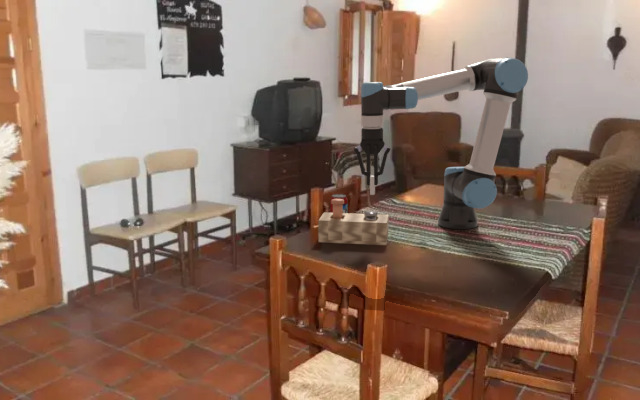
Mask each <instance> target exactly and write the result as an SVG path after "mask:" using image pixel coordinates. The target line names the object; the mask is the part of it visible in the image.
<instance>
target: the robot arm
mask: <svg viewBox="0 0 640 400" xmlns="http://www.w3.org/2000/svg"><path fill="white" fill-rule="evenodd" d="M528 79H529V72H528V69H527V66H526V65H525V63H524V62H522V61H521V60H520V59H518V58H513V57H507V56H506V57H502V58H501V57H495V58H494V57H493V58H489V59H485V60H483V61H479V62H476V63H472V64H469V65H466V66H464V68H463V69H459V70H454V71H450V72H446V73H441V74H436V75H431V76H427V77H423V78H419V79H414V80H409V81H405V82H400V83H396V84H391V85H389V84H387V85H384V83H383V82H381V81H372V82H371V81H368V82H367V81H366V82H363V83H362V84H361V88H360V89H361V90H360V91H361V92H360V105H361V112H360V113H361V116H360V120H361V122H360V124H361V127H362V128H361V136H360V137H361V138H360V139H361V141H360V143H359V145H358V146H355V147H354V149H353V151H354V152H355V154H356V156H357V160H358V164H359V168H360V172H361V174H362V175H364V176H366V185H367V186H369V195H370V196H375V194H376V186H378V184H379V176H382V175H383V174H384V170H385V166H386V162H387V158H388V154H389V152H390V151H391V146H387V145H386V144H385V141H384V128H383V127H384V110H386V111H387V110H411V109H412V110H413V109H415V108H416V107H417V105H418V103H419V102H418V101H420V100H422V101H423V100H426V99H431V98H435V97H440V96H444V95H448V94H453V93H457V92H461V91H466V90H467V91H469V92H474V91H483V95H484V97H485V103H484V107H483V109H482V110H483V111H482V115H481V118H480V122H479V126H478V128H477V132H476V138H475V142H474V145H473V149H472V152H471V157H470V160H469V163H468V164H467V165H465V166H449V167H446V168H445V170H444V175H443V177H444V179H443V181H444V182H443V203H442V206H441V209H440V213H439V215H438V220H437V224H438V225H439V226H441V227H442V228H446V229H451V230H452V229H454V230H471V229H475V228H477V227H478V224H479V223H478V221H479V220H478V218H477V213H476V209H477V210H478V209H479V210H480V209H485V208H487V207H488V206H491V204H492V203H494V201H495V199H496V197H497V194H498V189H497V185H496V184H495V180H496V177H497V174H496V172H495V170H494V167H495V164H496V160H497V155H498V152H499V148H500V144H501V141H502V137H503V134H504V129H505V126H506V121H507V119H508V114H509V111H510V109H511V108H510V107H511V104H512V103H514V102H515V101H517V98H518V95H519V92H520V91H522V90H523V89H524V88H525V86H526V85H527V82H528ZM362 150H363V151H364V153H365V154H366V167H365V164H364V159H363V155H362ZM382 150H383V156H382V159H381V165H380V168H379V153H381V151H382ZM371 155H373V175H372V173H371V172H372V167H371V166H372V160H371V159H372V156H371Z"/></svg>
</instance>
